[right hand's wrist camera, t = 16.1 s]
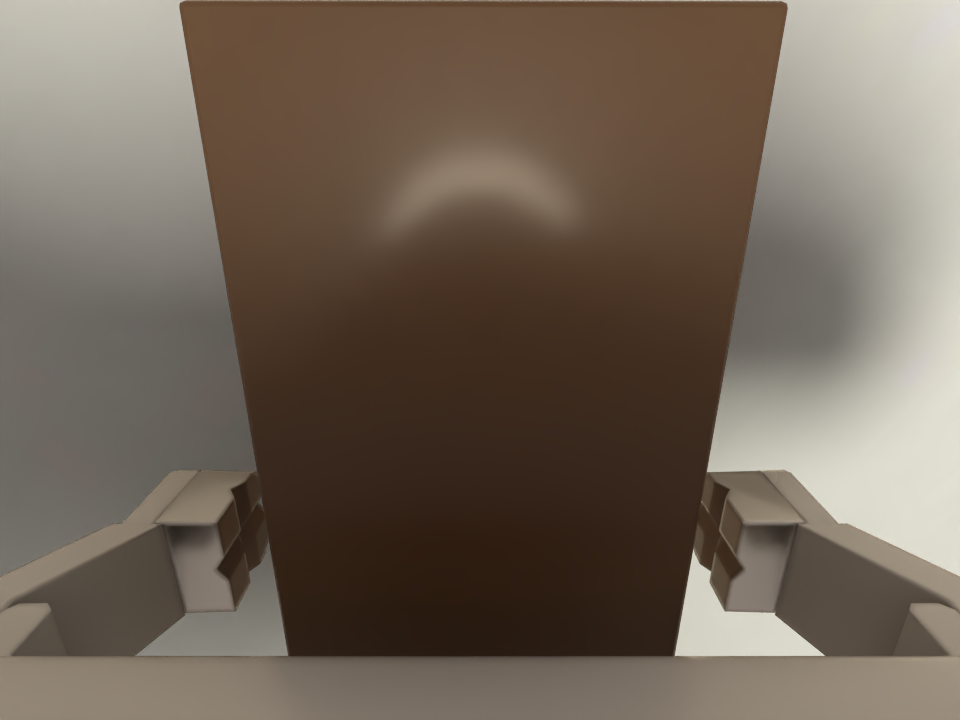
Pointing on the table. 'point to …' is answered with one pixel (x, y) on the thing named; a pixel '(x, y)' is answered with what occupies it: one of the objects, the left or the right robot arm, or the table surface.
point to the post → (482, 303)
